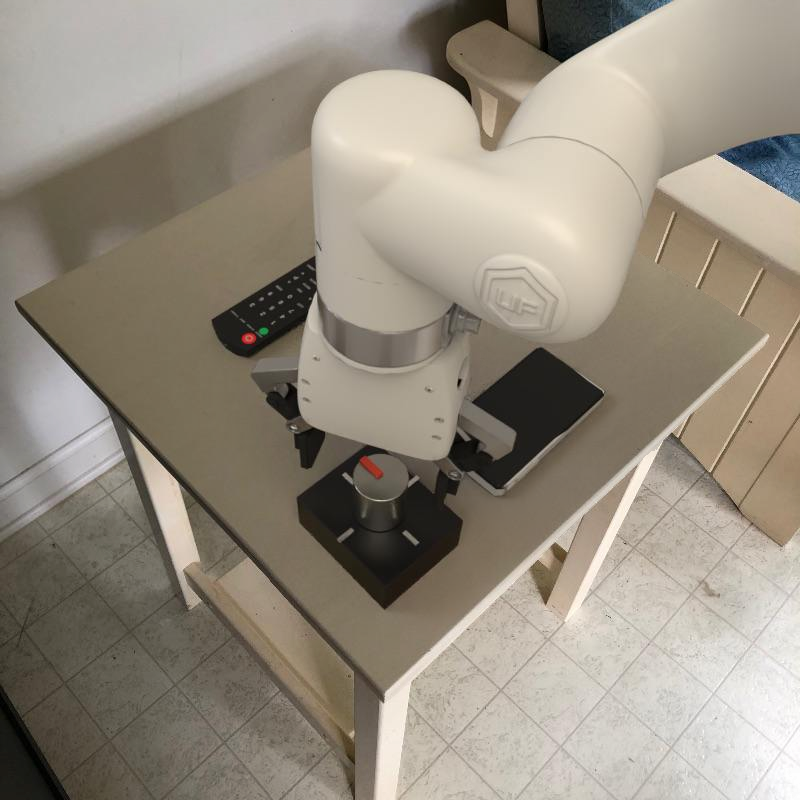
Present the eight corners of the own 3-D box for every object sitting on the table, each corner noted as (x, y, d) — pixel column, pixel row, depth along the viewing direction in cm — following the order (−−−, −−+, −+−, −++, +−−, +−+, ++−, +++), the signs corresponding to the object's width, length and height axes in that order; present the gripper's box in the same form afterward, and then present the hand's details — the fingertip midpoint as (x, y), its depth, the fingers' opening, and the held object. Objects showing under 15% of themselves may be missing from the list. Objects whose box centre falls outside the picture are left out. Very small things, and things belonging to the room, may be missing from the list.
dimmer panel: (459, 544, 65) (464, 518, 62) (383, 611, 62) (384, 587, 58) (373, 465, 69) (374, 437, 66) (298, 523, 66) (294, 496, 63)
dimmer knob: (416, 509, 62) (420, 476, 59) (377, 542, 61) (379, 509, 57) (380, 476, 64) (382, 441, 60) (342, 506, 62) (341, 472, 58)
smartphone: (609, 393, 74) (501, 493, 67) (605, 401, 75) (499, 501, 68) (538, 344, 77) (429, 434, 70) (536, 352, 78) (427, 442, 71)
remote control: (425, 243, 86) (426, 233, 85) (243, 364, 75) (242, 354, 74) (390, 218, 88) (390, 208, 87) (208, 332, 78) (206, 322, 77)
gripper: (555, 297, 46) (507, 463, 59) (265, 223, 48) (283, 399, 62) (527, 399, 41) (482, 553, 55) (210, 311, 44) (242, 480, 57)
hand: (377, 471), depth 58 cm, fingers open, 9 cm apart
